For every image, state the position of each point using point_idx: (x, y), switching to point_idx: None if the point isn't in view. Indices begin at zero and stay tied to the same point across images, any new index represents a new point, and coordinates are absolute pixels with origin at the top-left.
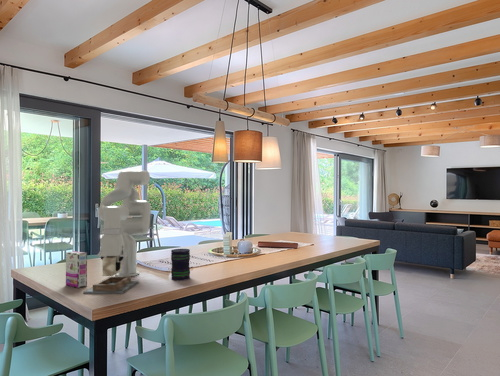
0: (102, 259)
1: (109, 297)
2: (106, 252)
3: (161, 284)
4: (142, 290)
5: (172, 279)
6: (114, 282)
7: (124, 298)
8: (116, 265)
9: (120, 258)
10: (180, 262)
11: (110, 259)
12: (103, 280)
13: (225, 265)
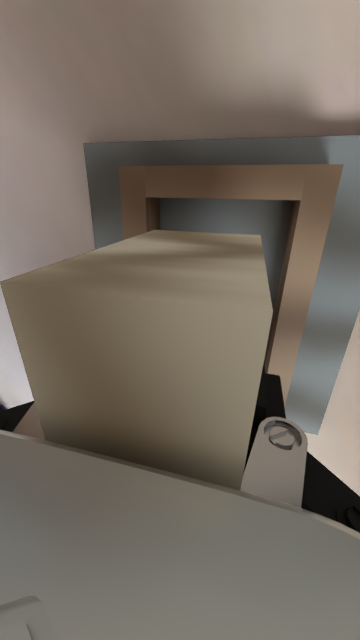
0: (336, 488)
1: (138, 27)
2: (179, 637)
3: (4, 343)
4: (25, 235)
5: (4, 409)
6: None
7: (22, 11)
8: None
9: (9, 425)
10: None
11: (48, 277)
12: (285, 334)
13: None
